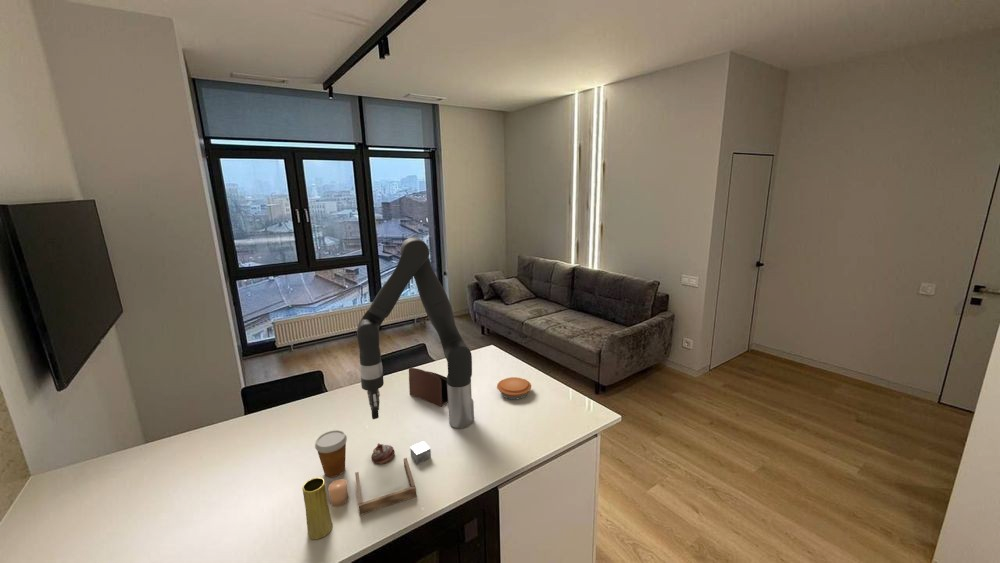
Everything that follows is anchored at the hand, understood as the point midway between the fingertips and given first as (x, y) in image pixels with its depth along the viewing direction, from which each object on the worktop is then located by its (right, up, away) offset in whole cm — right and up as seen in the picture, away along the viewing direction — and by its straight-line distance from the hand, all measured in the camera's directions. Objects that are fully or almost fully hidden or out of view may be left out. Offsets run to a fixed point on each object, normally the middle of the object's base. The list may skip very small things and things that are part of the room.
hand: (375, 417), depth 137 cm
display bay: (+10, -14, -22) cm, 27 cm away
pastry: (+5, -11, -7) cm, 14 cm away
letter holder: (+15, -2, +32) cm, 35 cm away
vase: (-3, -17, -36) cm, 40 cm away
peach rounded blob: (-2, -15, -26) cm, 30 cm away
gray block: (+18, -11, -8) cm, 23 cm away
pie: (+52, -1, +33) cm, 62 cm away
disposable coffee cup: (-9, -13, -14) cm, 20 cm away
